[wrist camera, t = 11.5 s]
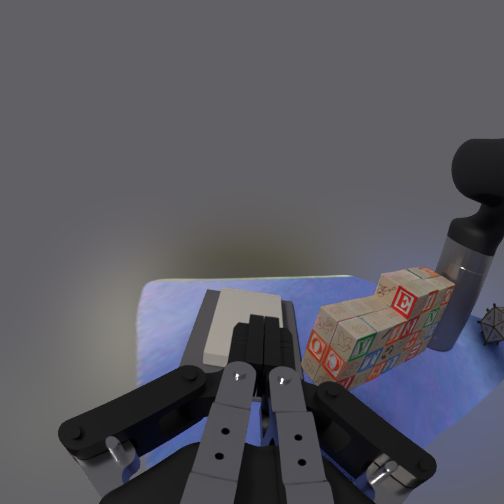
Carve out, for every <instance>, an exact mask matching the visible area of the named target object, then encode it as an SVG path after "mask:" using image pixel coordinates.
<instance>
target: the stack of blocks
mask: <svg viewBox="0 0 504 504" xmlns="http://www.w3.org/2000/svg"><path fill="white" fill-rule="evenodd" d="M454 288H455V284H454V283H452V282H451V281H449V280H447V279H446V278H444V277H443V276H440V275H439V274H437V273H435V272H434V271H432V270H430V269H428V268H426V267H422V268H416V267H415V268H409V269H407V270H400V271H395V272H389V273H383V274H381V277H380V280H379V282H378V285H377V288H376V290H375V293H374V295H373V296H368V297H364V298H360V299H358V298H357V299H353V300H348V301H343V302H340V303H335V304H329V305H324V306H321V307H320V310H319V313H318V316H317V319H316V322H315V325H314V329H312V331H311V334H310V337H309V340H308V344H307V347H306V350H305V353H304V356H303V359H302V362H301V367H302V369H303V370H304V371H305V373H306V374H307V375H308V376H309V377H310V379H311V380H312V381H313V382H314V384H315V385H316V386H319V385H320V384H321V383H323V382H327V381H332V382H336V383H338V384H340V385H342V386H343V387H344V388H345V389H347V390H350V389H352V388H355V387H357V386H359V385H361V384H363V383H365V382H367V381H370V380H372V379H374V378H376V377H378V376H379V375H381V374H383V373H385V372H386V371H388V370H390V369H392V368H394V367H396V366H397V365H399V364H401V363H403V362H405V361H407V360H409V359H411V358H413V357H414V356H416V355H418V354H420V353H421V352H423V351H424V350H425V349H426V347H427V345H428V343H429V341H430V339H431V337H432V335H433V333H434V331H435V329H436V327H437V325H438V323H439V321H440V319H441V317H442V315H443V313H444V311H445V309H446V307H447V304H448V301H449V299H450V297H451V295H452V292H453V290H454Z"/></svg>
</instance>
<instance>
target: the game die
mask: <svg viewBox="0 0 504 504" xmlns="http://www.w3.org/2000/svg"><path fill="white" fill-rule="evenodd" d="M493 306H494V307H493V308H492V309H491V310H489V309H487V311H488V312H487V313H486V315H485V316H484V318H483V319H482V320H481V321H479V320H478V321H477V323H480V324H481V328H482V331H481V333H482V334H484V338H485V341H486V342H485V343H484V346H485V345H486V343H492V342H497V343H496V344H497V345H498V344H499V342H500V341H503V340H504V307H495V306H496V305H495V303H494V304H493Z"/></svg>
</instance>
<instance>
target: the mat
mask: <svg viewBox="0 0 504 504" xmlns="http://www.w3.org/2000/svg"><path fill="white" fill-rule="evenodd" d="M220 292H221V291H215V290H209V289H207V292H206V294H205V297H204V300H203V302H202V305H201V308H200V310H199V313H198V316H197V318H196V321H195V324H194V327H193V329H192V332H191V335H190V338H189V341H188V343H187V346H186V349H185V352H184V355H183V357H182V360H181V363H180V366H179V367H181V366H184V365H194V366H197V367H199V368H201V369H202V370H203V371H204V372H205V373H212V372H217V371H220V370H222V369H223V368H224V367H220V366H214V365H208V364H203V354H204V349H205V345H206V342H207V338H208V335H209V331H210V327H211V324H212V320H213V317H214V313H215V310H216V306H217V303H218V299H219V296H220ZM281 309H282V321H283V328H288V329H289V331H290V332H291V334H292V336H293V346H294V357H295V368H296V372H297V373H298V374H299V376H300V378H301V379H302V380H303V376H302V369H301V361H300V354H299V346H298V339H297V332H296V325H295V318H294V311H293V305H292V302H291V301H284V300H281ZM256 391H257V390H256ZM252 401H256V402H261V397H256V394H255V397H252Z"/></svg>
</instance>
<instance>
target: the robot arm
mask: <svg viewBox="0 0 504 504" xmlns="http://www.w3.org/2000/svg"><path fill="white" fill-rule="evenodd" d="M452 178H453V181H454V184H455V186H456V188H457V189H458V190H459V192H461V193H462V194H463V195H464V196H466V197H468V198H470V199H472V200H475V201H477V202H479V203H482V204H481V207H480V209H479V211H478V212H477V213H476V214H474V215H472V216H470V217H466V218H456V219H454V220H452V222H451V224H450V227H449V230H448V234H447V237H446V241H445V244H444V247H443V250H442V253H441V256H440V259H439V262H438V265H437V268H436V270H435V273H437V274H439V275H440V276H443V277H444V278H446V279H447V280H449V281H451V282H452V283H454V284H455V288H454V290H453V292H452V295H451V297H450V299H449V301H448V304H447V307H446V309H445V311H444V313H443V315H442V317H441V319H440V321H439V323H438V325H437V327H436V329H435V331H434V333H433V335H432V337H431V339H430V341H429V343H428V345H427V346H428V347H430V348H432V349H435V350H439V351H448V350H450V349H452V347H453V346H454V344H455V342H456V341H457V339H458V337H459V335H460V333H461V331H462V330H463V328H464V326H465V324H466V322H467V320H468V318H469V316H470V314H471V312H472V309H473V307H474V305H475V303H476V301H477V298H478V296H479V294H480V292H481V289H482V287H483V284H484V282H485V279H486V277H487V274H488V271H489V269H490V266H491V263H492V260H493V257H494V255H495V252H496V249H497V247H498V245H499V244H500V242H501V241H502V239H503V237H504V138H503V139H471V140H468V141H466V142H464V143H463V144H462V145H461V146H460V147H459V149H458V150H457V152H456V153H455V155H454V158H453V161H452ZM256 390H257V391H256ZM255 394H256V397H261V406H260V409H259V416H260V436H261V445H260V447H257V446H254V445H251V444H248V443H245V439H246V433H247V428H248V422H249V417H250V410H251V409H250V408H251V402H252V397H255ZM203 417H208V419H207V422H206V425H205V429H204V432H203V435H202V439H201V442H196V443H192V444H189V445H186V446H184V447H182V448H181V449H179V450H177V451H176V452H175V453H173V454H172V455H170V456H169V457H167V458H166V459H164V460H162V461H161V462H159V463H158V464H156V465H155V466H153V467H151V468H150V469H148V470H147V471H145V472H143V473H142V474H140V475H138V476H137V477H135V478H133V479H132V480H130V481H129V479H130V477H131V476H132V475H133V474H135V473H136V472H137V471H138V469H139V468H140V459H139V457H141V456H143V455H145V454H146V453H148V452H150V451H152V450H154V449H155V448H157V447H159V446H160V445H162V444H164V443H166V442H167V441H169V440H171V439H172V438H174V437H175V436H177V435H179V434H180V433H182V432H184V431H185V430H187V429H188V428H190V427H191V426H193V425H194V424H196V423H198V422H199V421H201V420H202V419H203ZM58 437H59V440H60V441H61V443H62V444H63V445H64V447H65V448H66V449H67V451H68V453H69V454H70V455H71V456H72V457H73V459H74V460H75V461H76V462H77V463H78V464H79V465H80V466H81V467H82V469H83V471H84V472H85V474H86V475H87V477H88V478H89V480H90V481H91V482H92V484H93V486H94V487H95V489H96V490H97V491H98V493H99V494H100V496H101V497H102V499H101V501H100V503H99V504H402V503H403V502H404V500H405V499H406V498H407V497H408V495H409V494H410V493H411V492H412V490H413V489H415V488H417V487H418V486H419V485H421V484H422V483H424V482H425V481H427V480H428V479H429V478H431V477H432V476H433V475H434V473H435V472H436V468H437V465H436V461H435V459H434V458H433V457H432V456H431V455H430V454H429V453H427V452H426V451H425V450H423V449H422V448H420V447H419V446H418V445H416V444H415V443H414V442H412V441H411V440H410V439H408V438H407V437H406V436H404V435H403V434H402V433H401V432H399V431H398V430H397V429H395V428H394V427H393V426H391V425H390V424H389V423H388V422H386V421H385V420H384V419H383V418H381V417H380V416H379V415H377V414H376V413H375V412H374V411H372V410H371V409H370V408H369V407H367V406H366V405H365V404H364V403H362V402H361V401H360V400H359V399H357V398H356V397H355V396H354V395H353V394H351V393H350V392H349V391H348V390H347V389H345V388H344V387H343V386H342V385H340V384H338V383H336V382H332V381H327V382H323V383H321V384H320V385H319V386H316V385H313V384H310V383H307V382H305V381H303V380H302V379H301V378H300V376H299V374H298V373H297V372H296V368H295V357H294V346H293V336H292V334H291V332H290V331H289V329H288V328H281V327H280V325H279V318H278V317H270V316H265V317H264V316H262V315H255V314H250V317H249V323H242V322H238V323H237V324H236V326H235V327H234V328H233V334H232V339H231V345H230V351H229V356H228V362H227V365H226V366H225V367H224V368H223V369H222V370H220V371H217V372H212V373H205V372H204V371H203V370H202V369H201V368H199V367H197V366H194V365H184V366H181V367H178V368H177V369H175V370H173V371H171V372H169V373H167V374H165V375H163V376H161V377H159V378H157V379H155V380H153V381H151V382H149V383H147V384H145V385H143V386H141V387H139V388H137V389H135V390H133V391H131V392H129V393H127V394H125V395H123V396H121V397H119V398H117V399H114V400H112V401H110V402H108V403H106V404H103V405H101V406H99V407H97V408H94V409H92V410H90V411H88V412H85V413H83V414H81V415H79V416H76V417H74V418H71V419H69V420H67V421H65V422H64V423H62V424H61V426H60V427H59V430H58ZM320 448H321V449H322V450H323V451H324V452H326V453H327V454H328V455H329V456H330V457H331V458H332V459H333V460H334V461H335V462H336V463H338V464H339V465H340V466H341V467H342V468H343V469H344V470H346V471H347V472H348V473H349V474H350V475H351V476H352V477H354V478H355V479H356V483H355V485H354V484H353V483H352V482H351V481H350V480H349V479H348V478H347V477H346V476H345V475H344V474H343V473H342V472H341V471H339V470H338V469H337V468H336V467H335V466H334V465H333V464H332V463H331V462H330V461H329V460H328V459H326V458H325V457H323V456H322V455H321V452H320Z"/></svg>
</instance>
